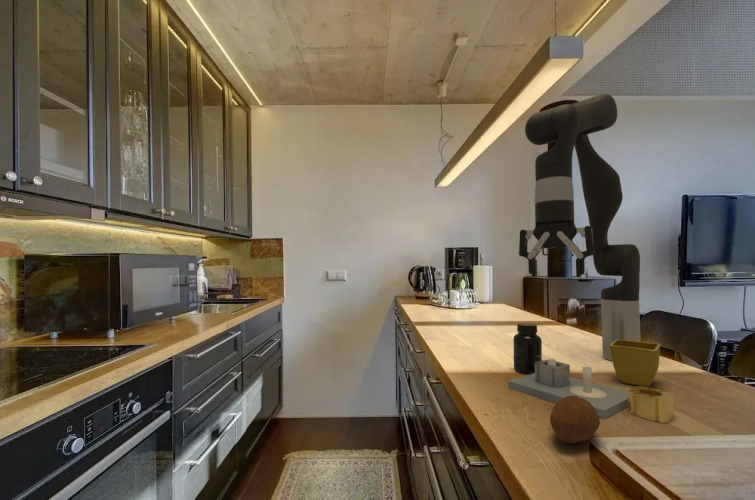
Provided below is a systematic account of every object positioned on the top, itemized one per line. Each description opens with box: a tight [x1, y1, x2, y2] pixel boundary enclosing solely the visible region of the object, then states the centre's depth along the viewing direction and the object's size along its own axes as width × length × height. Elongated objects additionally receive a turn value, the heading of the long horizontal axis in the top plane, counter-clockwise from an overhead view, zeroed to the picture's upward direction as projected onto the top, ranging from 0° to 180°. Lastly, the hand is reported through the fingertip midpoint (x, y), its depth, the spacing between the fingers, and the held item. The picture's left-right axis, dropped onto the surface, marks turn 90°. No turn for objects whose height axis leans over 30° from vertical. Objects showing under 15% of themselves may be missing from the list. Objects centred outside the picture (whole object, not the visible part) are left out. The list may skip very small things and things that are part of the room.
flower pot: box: [610, 339, 661, 388], centre depth 84 cm, size 9×9×9 cm
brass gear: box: [627, 385, 675, 424], centre depth 67 cm, size 6×6×4 cm
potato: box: [549, 396, 601, 445], centre depth 57 cm, size 7×12×7 cm, turn 145°
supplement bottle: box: [512, 322, 543, 375], centre depth 94 cm, size 7×7×12 cm
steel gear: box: [535, 359, 571, 388], centre depth 80 cm, size 6×6×4 cm
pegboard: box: [507, 358, 629, 420], centre depth 77 cm, size 14×20×6 cm
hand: (555, 276), depth 77 cm, fingers open, 8 cm apart
